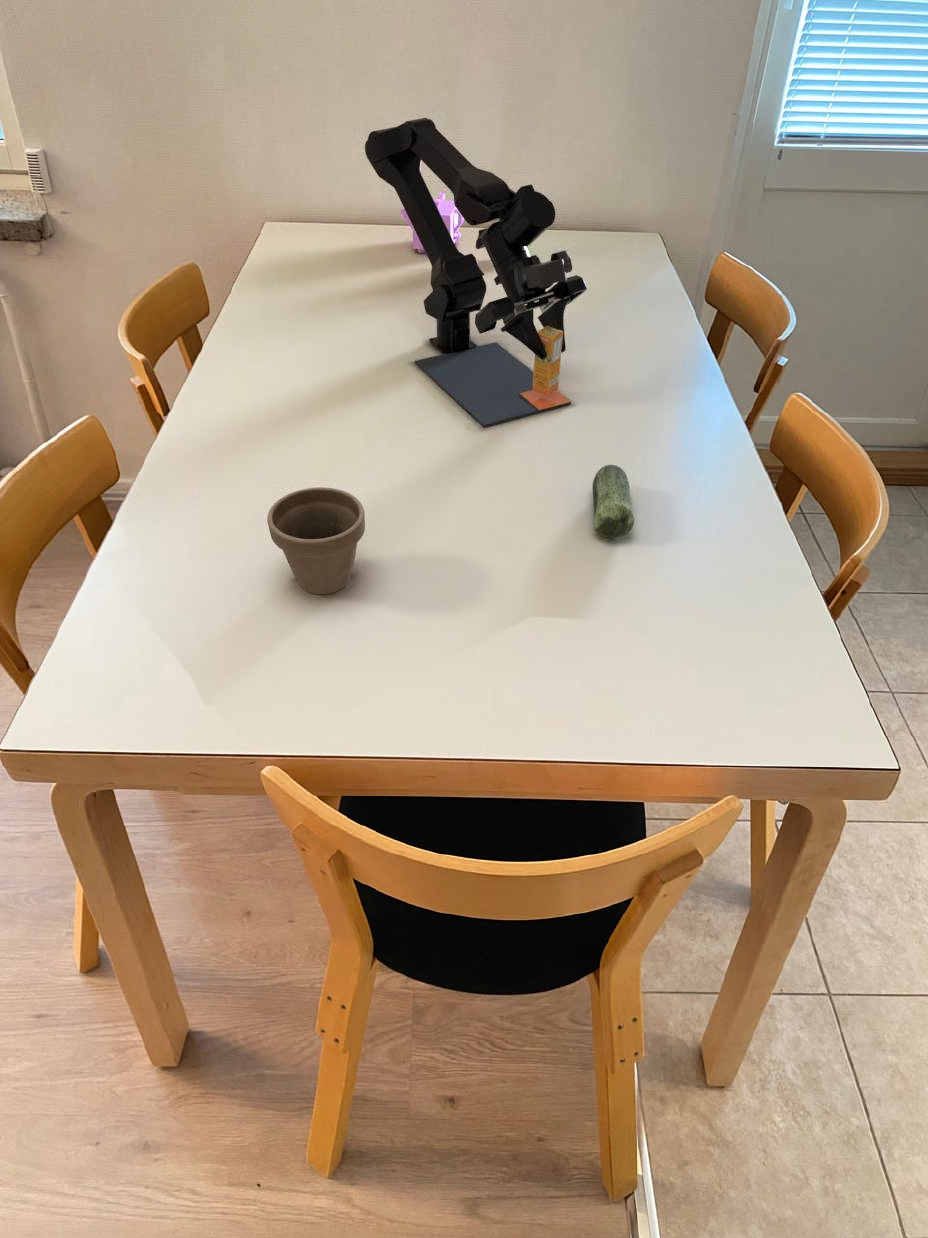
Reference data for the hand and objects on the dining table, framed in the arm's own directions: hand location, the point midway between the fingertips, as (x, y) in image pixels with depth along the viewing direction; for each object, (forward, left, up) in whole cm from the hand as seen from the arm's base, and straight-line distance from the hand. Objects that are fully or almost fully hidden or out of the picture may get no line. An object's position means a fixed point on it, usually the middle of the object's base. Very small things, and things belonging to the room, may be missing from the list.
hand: (553, 354), depth 149 cm
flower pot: (+25, -49, -9) cm, 56 cm away
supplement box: (-1, 0, -7) cm, 7 cm away
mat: (-10, -5, -8) cm, 14 cm away
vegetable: (+30, -9, -9) cm, 32 cm away
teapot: (-68, +14, -9) cm, 70 cm away
